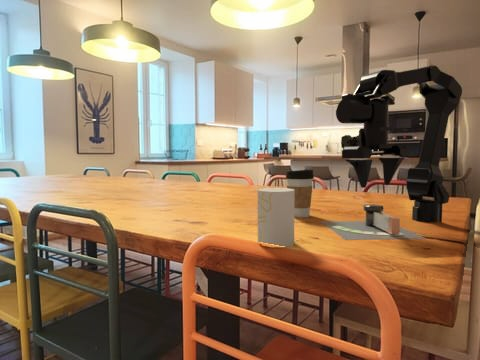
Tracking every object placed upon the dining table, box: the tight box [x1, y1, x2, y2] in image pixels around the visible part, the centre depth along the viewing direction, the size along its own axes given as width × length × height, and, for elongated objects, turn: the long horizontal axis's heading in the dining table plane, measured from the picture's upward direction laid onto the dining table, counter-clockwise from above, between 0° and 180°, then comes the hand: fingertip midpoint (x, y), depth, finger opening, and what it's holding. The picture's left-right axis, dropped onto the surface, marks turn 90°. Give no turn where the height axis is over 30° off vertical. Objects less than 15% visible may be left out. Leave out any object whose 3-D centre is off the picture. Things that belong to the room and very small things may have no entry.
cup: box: [256, 187, 295, 248], centre depth 76 cm, size 8×8×12 cm
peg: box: [362, 203, 401, 234], centre depth 84 cm, size 15×5×5 cm, turn 2°
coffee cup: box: [285, 169, 315, 218], centre depth 104 cm, size 8×8×15 cm
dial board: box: [321, 220, 427, 241], centre depth 85 cm, size 18×20×1 cm
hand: (375, 186), depth 87 cm, fingers open, 9 cm apart
